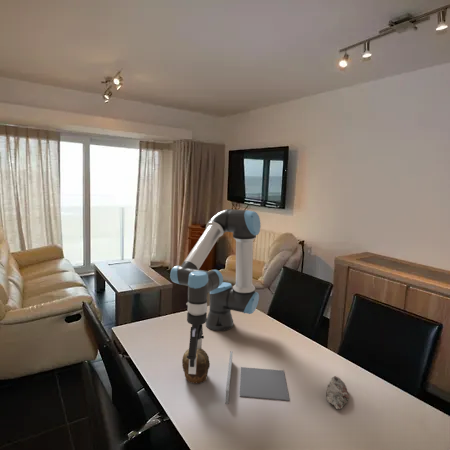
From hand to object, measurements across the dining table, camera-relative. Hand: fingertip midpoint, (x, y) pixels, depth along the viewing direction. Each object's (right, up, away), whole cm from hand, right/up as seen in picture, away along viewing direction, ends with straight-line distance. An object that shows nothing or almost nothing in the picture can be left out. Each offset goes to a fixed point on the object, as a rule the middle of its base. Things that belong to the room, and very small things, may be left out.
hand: (195, 363), depth 122 cm
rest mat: (+27, -8, 0) cm, 28 cm away
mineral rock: (+53, -10, -7) cm, 55 cm away
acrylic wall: (+13, -7, +1) cm, 15 cm away
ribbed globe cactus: (0, -7, +1) cm, 7 cm away
